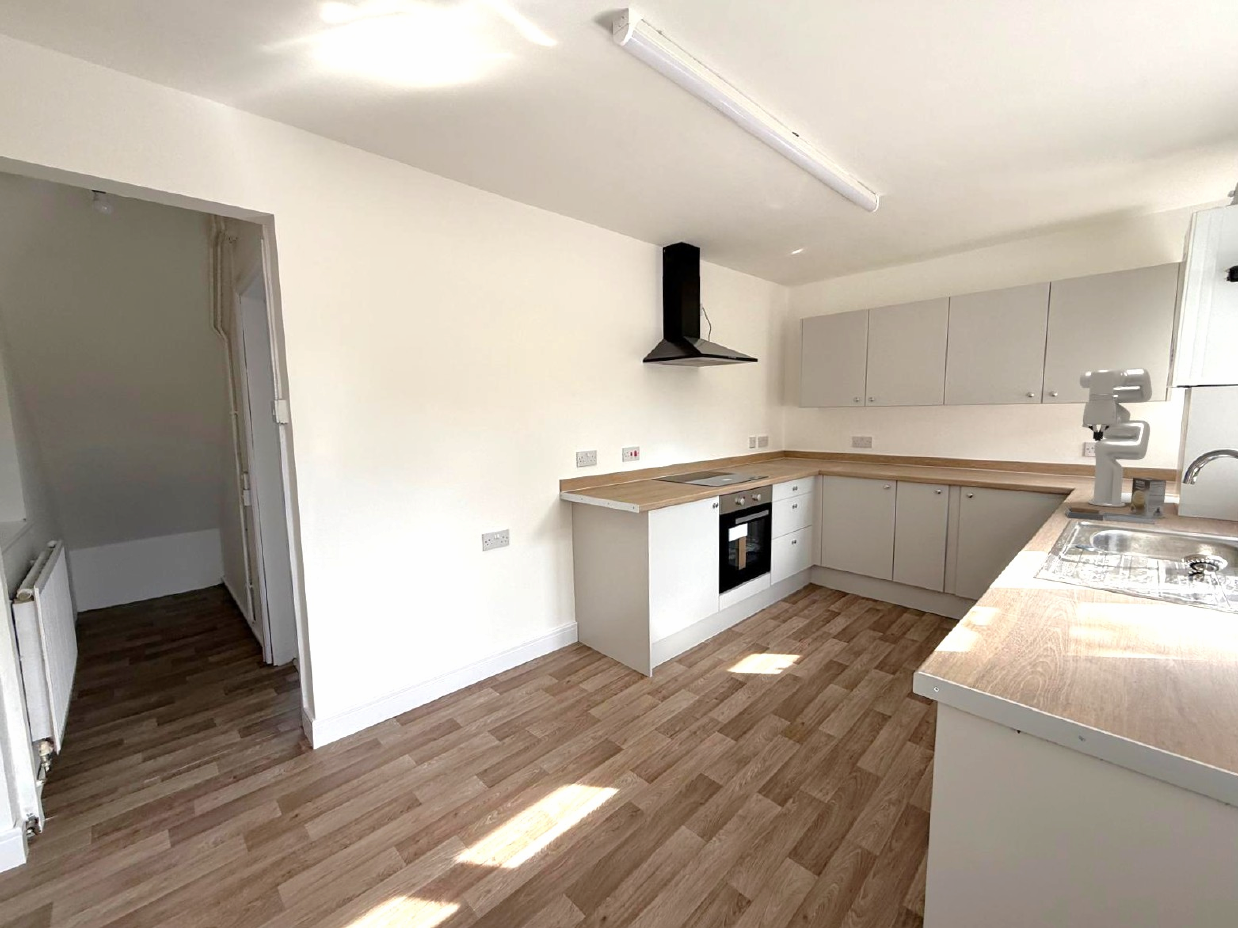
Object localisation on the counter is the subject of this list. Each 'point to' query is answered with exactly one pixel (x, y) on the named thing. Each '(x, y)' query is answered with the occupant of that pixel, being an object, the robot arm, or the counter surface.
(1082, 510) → the walnut chip
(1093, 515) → the gray u-shaped frame
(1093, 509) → the walnut chip
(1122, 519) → the slot rails
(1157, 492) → the coffee box
